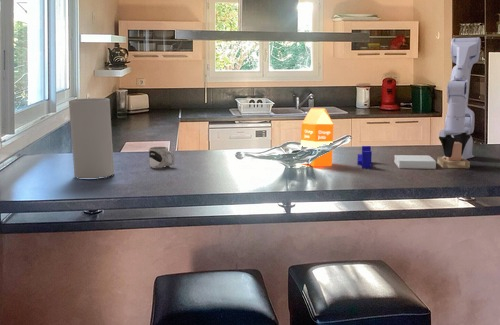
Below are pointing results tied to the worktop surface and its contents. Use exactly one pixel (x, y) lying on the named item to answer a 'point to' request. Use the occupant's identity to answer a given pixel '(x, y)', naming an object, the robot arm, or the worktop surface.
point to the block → (456, 152)
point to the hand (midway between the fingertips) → (453, 155)
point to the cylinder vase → (91, 137)
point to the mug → (160, 157)
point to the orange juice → (318, 134)
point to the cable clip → (365, 157)
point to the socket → (453, 163)
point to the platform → (415, 161)
